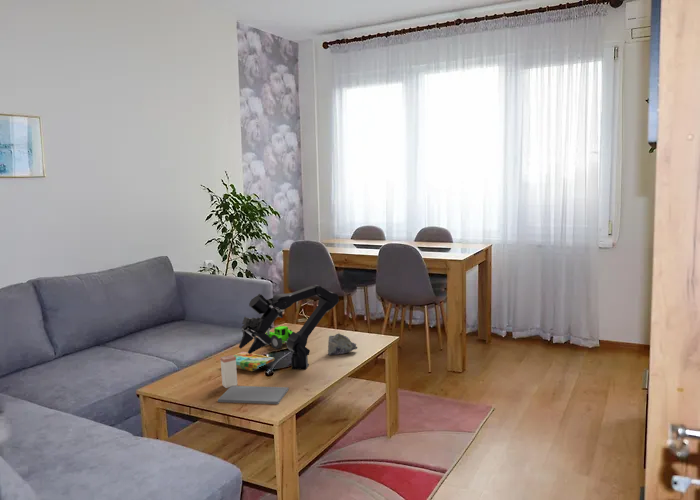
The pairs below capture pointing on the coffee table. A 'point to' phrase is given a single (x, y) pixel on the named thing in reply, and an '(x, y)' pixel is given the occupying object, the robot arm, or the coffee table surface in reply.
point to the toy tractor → (279, 336)
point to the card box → (228, 371)
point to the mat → (254, 394)
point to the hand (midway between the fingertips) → (244, 350)
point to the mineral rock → (340, 344)
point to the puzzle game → (251, 361)
